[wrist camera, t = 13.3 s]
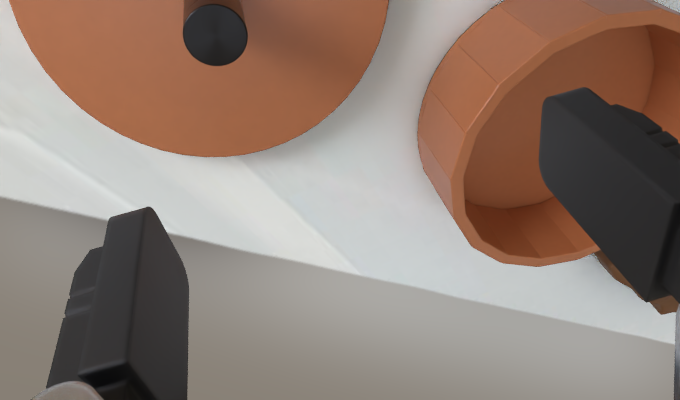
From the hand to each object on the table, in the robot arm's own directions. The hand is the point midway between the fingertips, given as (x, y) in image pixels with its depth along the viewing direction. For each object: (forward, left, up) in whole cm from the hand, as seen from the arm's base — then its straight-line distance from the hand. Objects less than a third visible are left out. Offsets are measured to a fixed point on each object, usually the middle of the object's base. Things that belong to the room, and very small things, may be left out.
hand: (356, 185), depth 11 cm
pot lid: (+2, -2, -17) cm, 17 cm away
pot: (+4, +18, -17) cm, 25 cm away
